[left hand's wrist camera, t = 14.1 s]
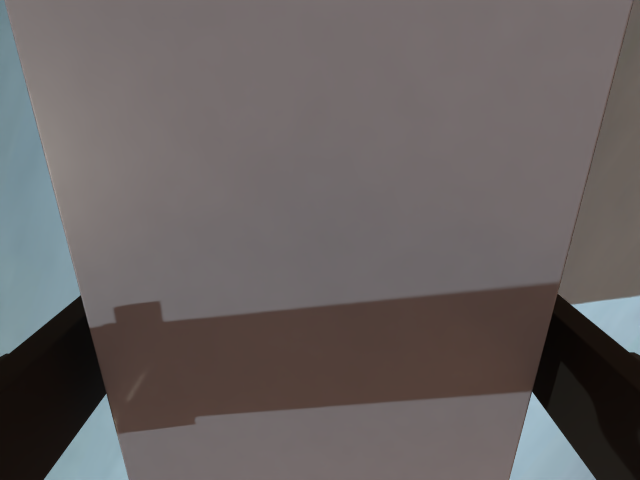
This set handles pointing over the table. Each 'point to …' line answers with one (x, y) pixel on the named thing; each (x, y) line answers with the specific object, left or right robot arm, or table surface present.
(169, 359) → the cabinet
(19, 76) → the table surface
